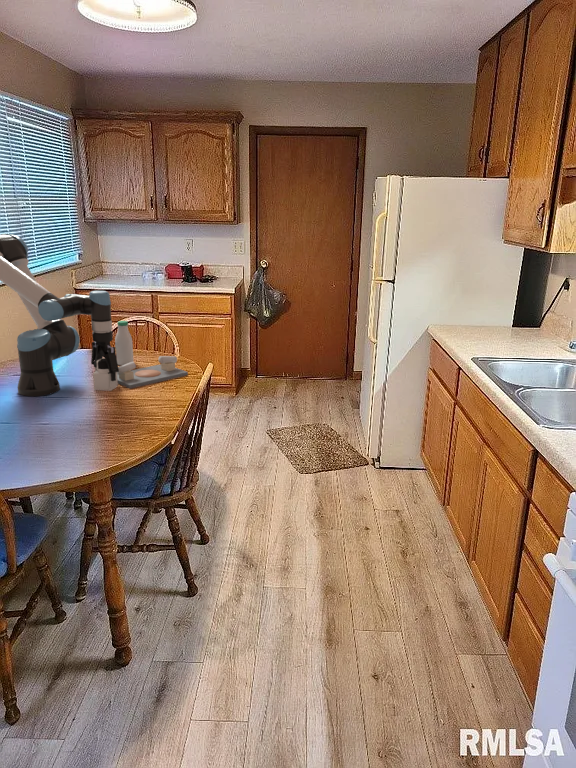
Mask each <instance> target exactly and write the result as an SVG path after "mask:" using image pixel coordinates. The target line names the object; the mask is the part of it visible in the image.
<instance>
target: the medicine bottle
mask: <svg viewBox="0 0 576 768" xmlns="http://www.w3.org/2000/svg"><path fill="white" fill-rule="evenodd" d="M96 363H97V371H96V372H95V371H94V372H92V378H93V390H94V391H105V392H108V391H109V392H112V391H113V390H114V389H115V388H113V389H109V378H108V372H109V369H108V366H107V363H106V360H105V358H104V357H102V359H99V360H97V361H96ZM118 386H119V384H118V380H117V372H116V388H117V387H118Z"/></svg>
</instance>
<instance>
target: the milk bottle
mask: <svg viewBox="0 0 576 768" xmlns="http://www.w3.org/2000/svg"><path fill="white" fill-rule="evenodd" d="M116 323H117V332H116V334H115V338H114V340H115V341H114V342H115V345H114V347H115V354H116V359H117V364H118V366H122V365H125V364H127V363H130V362H134V349H133V347H134V346H133V338H132V335H131V333H130V331H129V328H128V327H129V323H128V321H127V320H119V321H117V322H116Z"/></svg>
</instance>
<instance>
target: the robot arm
mask: <svg viewBox="0 0 576 768" xmlns="http://www.w3.org/2000/svg"><path fill="white" fill-rule="evenodd" d="M28 257H29V248H28V246H27V244H26V242H25V240H24V239H23V238H21V236H18V235H15V234H9V233H2V234H0V282H2V283H3V284H4V285H6V286H7V287H9V288H10V289H11V290H12V291H14V293H15V292H16V293H17V295H18V296H19V298H20V300H21V301H22V304H23V305H24V306H25V308H26V310H27V311H28V313H29V315H30V317H31V319H32V320H33V321H34V324H35V325H36V327H37V328H36V329H29V330H25V331H23V332H21V333H20V334H19V335H18V336H17V339H16V342H17V344H16V347H17V348H16V349H17V352H18V359H19V360H18V361H19V367H20V375H19V379H18V383H17V393H18V394H19V395H21V396H24V397H41V396H48V395H52V394H54V393H57V392H59V390H60V389H61V386H60V382H59V379H58V377H57V376H56V373H55V371H54V364H53V361H55V360H58V359H61V358H64V357H68V356H70V355H72V354H74V353H75V352H77V351H78V349H79V347H80V343H81V342H80V341H81V339H80V334H79V332H78V331H77V329H76V328H75V327H74V326H71V325H67V324H66V322H65V321H64V319H65V318H70V317H74V316H79V315H87V316H90V318H91V319H90V320H91V321H90V322H91V331H92V334H91V335H92V342H91V358H90V359H91V360H90V362H91V363H90V364H91V365H93V367H94V372H96V371H97V363H96V361H97V360H99V359H102V358H105V360H106V363H107V366H108V369H109V372H108V378H109V389H113V388H114V389H117V387H116V372H119V369H118V367H119V365H118V364H117V359H116V348H115V346H111V342H112V341H113V339H114V337H113V335H114V334H113V331H112V330H113V325H112V324H113V321H112V302H111V296H110V293H109V292H108V291H106V290H92V291H90V292H89V295H87V294H77V293H66V294H65V295H63V297H58V296H56V295H55V294H54V293H52V292H51V291H49V290H48V289H47V288H46V287H44V286H42V284H40V283H38V281H37V280H36V278H35V277H34V275H33V273H32V272H31V270H30V268H29V267H28V265H29V259H28ZM114 389H113V390H114Z"/></svg>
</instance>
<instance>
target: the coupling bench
mask: <svg viewBox="0 0 576 768" xmlns="http://www.w3.org/2000/svg"><path fill="white" fill-rule="evenodd" d="M177 361H178V357H177V356H175V355H172V356H170V355H160V356H158V363H160V364H156V365H151V366H145V367H141V368H137V366H136V362H134V361H133V362H130V363H127V364H125V365H119V366H118V369H119V372H117V380H118V385H121V386H122V387H125V388H127V389H129V390H130V389H134V388H138V387H143V386H148V385H152V384H157V383H161V382H165V381H169V380H174V379H178V378H181V377H182V378H183V377H187V376H188V375H189V372H188V371H186V370H183V369H180V368H177V367H176V363H177ZM186 375H187V376H186Z"/></svg>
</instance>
